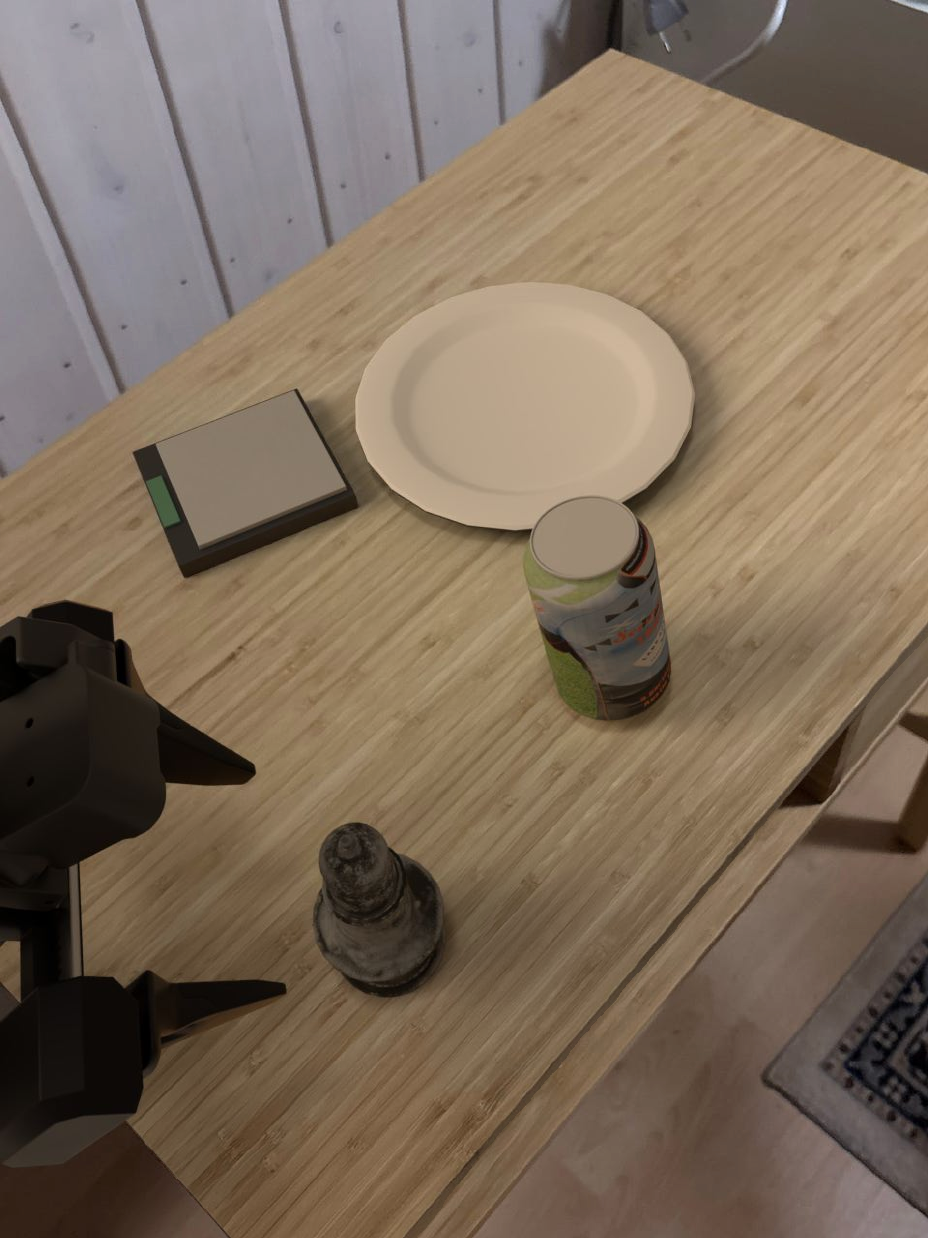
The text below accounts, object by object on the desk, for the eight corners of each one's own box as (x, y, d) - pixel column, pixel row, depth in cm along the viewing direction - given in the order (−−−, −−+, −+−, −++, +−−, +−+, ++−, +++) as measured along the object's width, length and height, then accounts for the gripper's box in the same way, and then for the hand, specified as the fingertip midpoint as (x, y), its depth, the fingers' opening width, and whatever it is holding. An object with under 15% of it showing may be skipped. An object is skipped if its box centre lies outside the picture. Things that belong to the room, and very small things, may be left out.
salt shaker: (305, 977, 53) (242, 882, 43) (359, 863, 56) (310, 750, 46) (422, 1023, 51) (383, 936, 41) (470, 904, 54) (445, 796, 44)
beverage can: (652, 746, 58) (665, 613, 48) (514, 708, 60) (500, 573, 50) (683, 646, 61) (702, 502, 51) (551, 612, 63) (545, 467, 53)
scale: (184, 578, 66) (176, 562, 65) (138, 464, 72) (129, 447, 71) (358, 507, 68) (354, 489, 67) (300, 401, 74) (295, 383, 72)
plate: (761, 457, 68) (765, 437, 66) (445, 600, 64) (442, 582, 63) (587, 260, 79) (587, 239, 77) (308, 372, 75) (303, 352, 74)
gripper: (-92, 1050, 26) (442, 1045, 35) (-64, 449, 36) (342, 573, 46) (-236, 1191, 32) (252, 1154, 41) (-176, 643, 42) (203, 716, 52)
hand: (265, 878), depth 45 cm, fingers open, 9 cm apart
